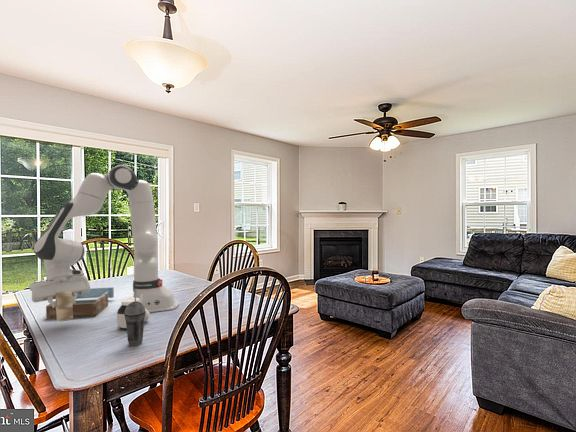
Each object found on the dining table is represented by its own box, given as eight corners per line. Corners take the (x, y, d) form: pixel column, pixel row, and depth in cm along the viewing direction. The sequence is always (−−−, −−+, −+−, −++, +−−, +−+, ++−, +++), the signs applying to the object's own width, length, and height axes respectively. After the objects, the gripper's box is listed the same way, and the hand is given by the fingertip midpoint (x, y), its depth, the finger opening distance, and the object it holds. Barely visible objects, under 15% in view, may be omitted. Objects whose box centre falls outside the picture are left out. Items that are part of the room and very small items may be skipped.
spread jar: (115, 332, 129) (115, 303, 129) (121, 322, 140) (121, 295, 139) (147, 329, 132) (147, 301, 132) (151, 319, 143) (150, 293, 143)
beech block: (70, 315, 136) (69, 290, 136) (73, 318, 133) (72, 292, 132) (56, 319, 133) (55, 292, 133) (58, 322, 129) (57, 295, 129)
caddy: (63, 307, 159) (63, 295, 159) (107, 305, 164) (107, 293, 164) (46, 319, 143) (46, 306, 143) (95, 316, 147) (95, 303, 147)
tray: (73, 298, 170) (73, 288, 170) (114, 296, 175) (114, 286, 175) (56, 309, 152) (56, 297, 152) (103, 306, 157) (102, 295, 156)
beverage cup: (122, 349, 113) (121, 293, 113) (126, 341, 120) (126, 288, 120) (144, 347, 115) (143, 291, 115) (147, 338, 122) (147, 287, 122)
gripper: (29, 277, 130) (32, 306, 123) (87, 270, 144) (93, 295, 137) (28, 286, 133) (32, 315, 127) (85, 278, 148) (91, 303, 141)
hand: (64, 305), depth 132 cm, fingers closed on beech block, 5 cm apart
